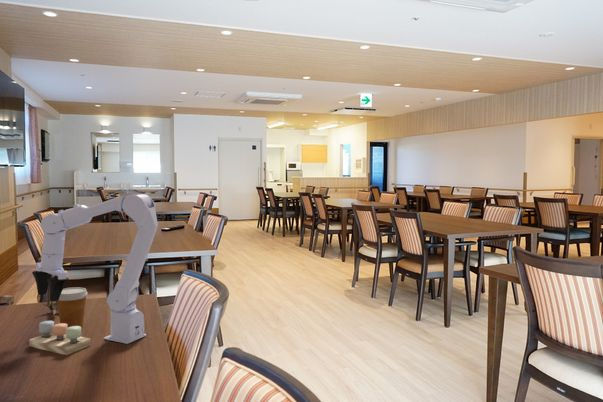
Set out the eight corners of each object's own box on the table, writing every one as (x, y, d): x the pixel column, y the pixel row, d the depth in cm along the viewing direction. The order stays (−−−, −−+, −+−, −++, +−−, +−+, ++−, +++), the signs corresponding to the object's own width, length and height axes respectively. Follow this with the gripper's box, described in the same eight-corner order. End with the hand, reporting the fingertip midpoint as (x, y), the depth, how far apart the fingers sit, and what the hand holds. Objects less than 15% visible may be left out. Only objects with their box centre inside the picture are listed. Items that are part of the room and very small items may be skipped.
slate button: (57, 336, 133) (57, 321, 133) (45, 340, 130) (45, 325, 130) (48, 334, 135) (48, 320, 135) (36, 338, 131) (36, 323, 131)
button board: (90, 345, 131) (90, 338, 131) (66, 355, 124) (66, 347, 123) (54, 337, 137) (54, 331, 137) (29, 346, 130) (29, 339, 129)
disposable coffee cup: (63, 334, 140) (63, 296, 139) (49, 327, 146) (49, 290, 145) (93, 326, 147) (93, 290, 147) (79, 320, 153) (78, 285, 153)
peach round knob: (70, 338, 131) (70, 324, 131) (58, 343, 128) (58, 328, 127) (61, 337, 133) (61, 322, 132) (49, 341, 129) (49, 326, 129)
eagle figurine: (37, 313, 157) (58, 311, 154) (44, 293, 161) (64, 291, 158) (54, 319, 163) (74, 317, 161) (60, 300, 167) (79, 298, 164)
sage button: (84, 341, 129) (84, 327, 129) (72, 346, 125) (72, 331, 125) (74, 339, 130) (74, 325, 130) (63, 344, 127) (62, 329, 127)
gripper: (27, 249, 137) (22, 293, 137) (50, 259, 128) (46, 305, 129) (51, 248, 143) (46, 290, 143) (75, 257, 134) (70, 302, 135)
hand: (48, 297), depth 137 cm, fingers open, 7 cm apart
